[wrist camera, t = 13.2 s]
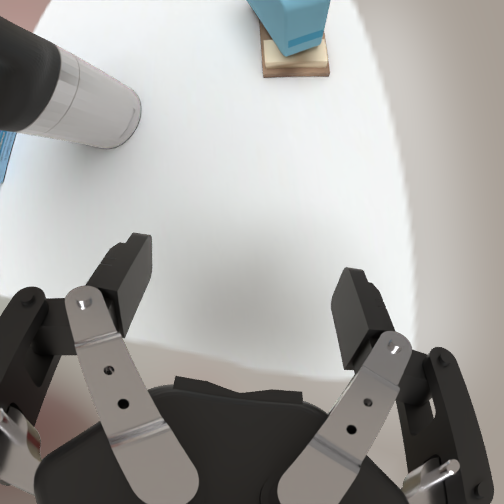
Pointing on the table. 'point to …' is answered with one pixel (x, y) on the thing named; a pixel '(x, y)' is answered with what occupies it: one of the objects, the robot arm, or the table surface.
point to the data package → (293, 22)
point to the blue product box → (5, 150)
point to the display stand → (292, 59)
